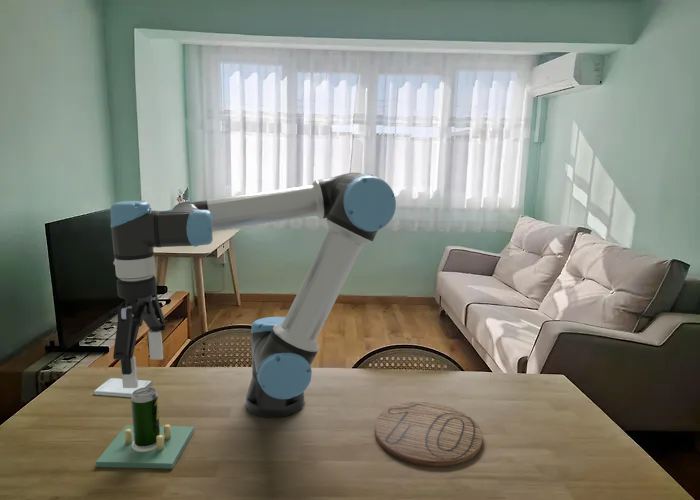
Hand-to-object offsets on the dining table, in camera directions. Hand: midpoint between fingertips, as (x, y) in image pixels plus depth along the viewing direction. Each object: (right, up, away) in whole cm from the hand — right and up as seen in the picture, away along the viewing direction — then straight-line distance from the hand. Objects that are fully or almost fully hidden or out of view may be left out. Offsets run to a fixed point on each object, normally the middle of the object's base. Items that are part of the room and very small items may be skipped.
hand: (144, 372), depth 107 cm
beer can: (-1, -16, +3) cm, 17 cm away
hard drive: (-18, -13, +30) cm, 37 cm away
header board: (-1, -18, +4) cm, 18 cm away
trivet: (+63, -18, +11) cm, 66 cm away
